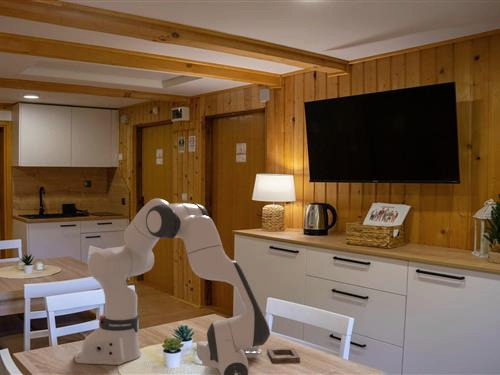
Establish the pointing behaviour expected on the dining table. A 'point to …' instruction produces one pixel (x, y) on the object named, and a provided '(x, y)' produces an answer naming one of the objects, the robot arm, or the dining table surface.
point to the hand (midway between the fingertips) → (225, 341)
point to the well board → (292, 358)
